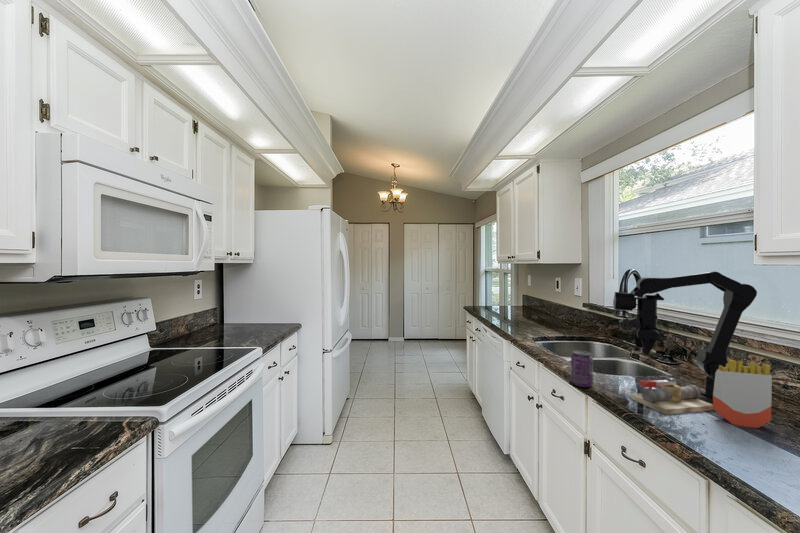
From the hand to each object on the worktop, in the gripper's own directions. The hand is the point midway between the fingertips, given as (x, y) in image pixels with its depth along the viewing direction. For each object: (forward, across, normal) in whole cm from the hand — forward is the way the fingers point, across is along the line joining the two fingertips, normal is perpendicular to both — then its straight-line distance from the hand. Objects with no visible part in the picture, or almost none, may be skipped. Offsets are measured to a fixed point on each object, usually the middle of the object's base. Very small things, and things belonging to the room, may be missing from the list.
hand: (646, 354), depth 121 cm
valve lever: (+6, +17, +2) cm, 18 cm away
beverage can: (+12, +11, -20) cm, 26 cm away
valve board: (+12, +14, +6) cm, 19 cm away
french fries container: (+12, +19, +20) cm, 31 cm away
